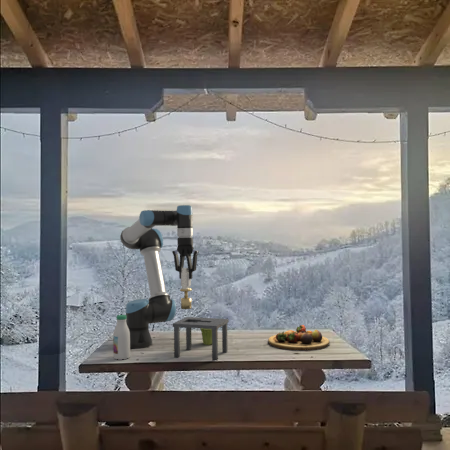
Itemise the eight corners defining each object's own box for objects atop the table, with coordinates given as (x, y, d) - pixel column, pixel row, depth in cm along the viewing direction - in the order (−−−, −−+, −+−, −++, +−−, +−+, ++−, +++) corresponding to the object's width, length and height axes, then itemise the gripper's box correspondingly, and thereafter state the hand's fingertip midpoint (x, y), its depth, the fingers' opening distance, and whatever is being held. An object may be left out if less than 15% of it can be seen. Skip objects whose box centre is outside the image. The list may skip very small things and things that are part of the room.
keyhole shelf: (172, 357, 231) (172, 323, 231) (187, 348, 248) (186, 316, 249) (217, 361, 225) (216, 326, 225) (228, 351, 242) (228, 319, 242)
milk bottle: (131, 355, 236) (131, 313, 236) (128, 360, 228) (128, 316, 228) (115, 356, 235) (114, 314, 235) (112, 360, 228) (111, 317, 228)
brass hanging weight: (178, 309, 236) (177, 268, 236) (183, 307, 241) (182, 267, 242) (189, 309, 234) (188, 268, 234) (193, 307, 239) (193, 267, 240)
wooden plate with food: (283, 334, 280) (283, 320, 280) (337, 341, 264) (337, 325, 264) (257, 346, 253) (257, 330, 253) (316, 354, 236) (316, 337, 236)
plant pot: (215, 346, 253) (215, 329, 253) (198, 345, 255) (197, 328, 255) (219, 342, 262) (219, 325, 262) (202, 341, 264) (202, 325, 264)
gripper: (167, 237, 237) (168, 286, 237) (196, 236, 232) (197, 286, 232) (174, 237, 245) (174, 284, 244) (203, 236, 239) (203, 285, 239)
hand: (186, 285), depth 238 cm, fingers closed on brass hanging weight, 2 cm apart
